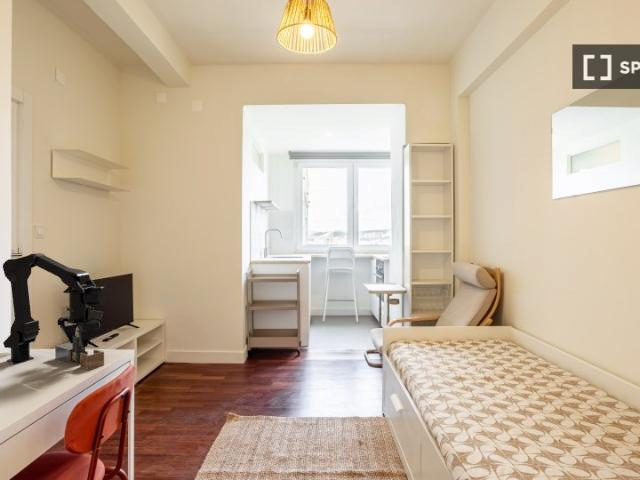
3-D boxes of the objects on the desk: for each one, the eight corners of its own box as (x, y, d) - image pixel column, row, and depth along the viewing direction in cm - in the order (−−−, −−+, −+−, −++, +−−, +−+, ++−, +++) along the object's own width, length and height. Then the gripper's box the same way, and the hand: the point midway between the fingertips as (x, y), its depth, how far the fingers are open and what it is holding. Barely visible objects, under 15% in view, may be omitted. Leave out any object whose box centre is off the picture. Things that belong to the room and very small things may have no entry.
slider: (58, 355, 144) (57, 332, 144) (66, 352, 147) (66, 330, 146) (78, 361, 137) (78, 338, 136) (87, 359, 139) (87, 336, 139)
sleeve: (55, 358, 143) (55, 345, 143) (69, 354, 147) (69, 342, 147) (69, 362, 138) (69, 349, 138) (83, 358, 143) (82, 346, 143)
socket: (80, 366, 134) (80, 353, 134) (95, 362, 139) (95, 349, 139) (89, 369, 131) (89, 356, 131) (104, 365, 136) (104, 351, 136)
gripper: (113, 303, 141) (113, 343, 142) (86, 298, 151) (87, 336, 151) (83, 308, 132) (83, 351, 132) (56, 303, 141) (57, 343, 141)
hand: (78, 345), depth 139 cm, fingers open, 9 cm apart
